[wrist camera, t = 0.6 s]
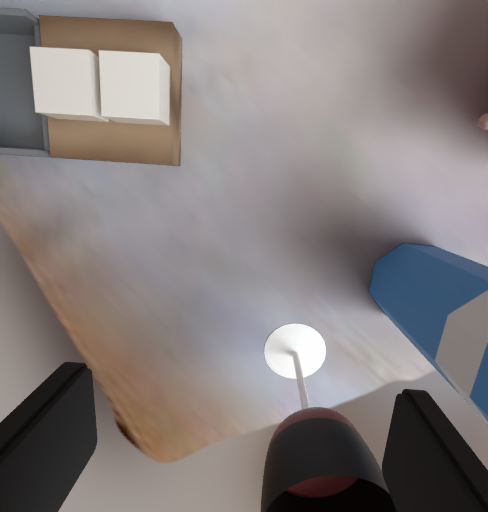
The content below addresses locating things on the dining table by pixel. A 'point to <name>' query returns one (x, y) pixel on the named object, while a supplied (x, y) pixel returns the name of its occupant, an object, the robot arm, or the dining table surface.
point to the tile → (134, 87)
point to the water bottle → (440, 313)
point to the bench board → (109, 133)
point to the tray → (20, 87)
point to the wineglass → (316, 443)
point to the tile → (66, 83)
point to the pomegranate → (483, 122)
